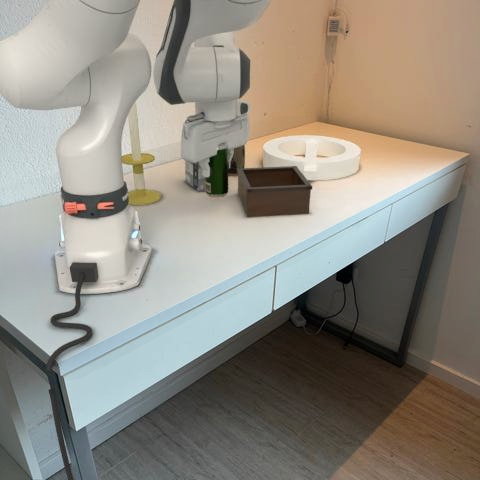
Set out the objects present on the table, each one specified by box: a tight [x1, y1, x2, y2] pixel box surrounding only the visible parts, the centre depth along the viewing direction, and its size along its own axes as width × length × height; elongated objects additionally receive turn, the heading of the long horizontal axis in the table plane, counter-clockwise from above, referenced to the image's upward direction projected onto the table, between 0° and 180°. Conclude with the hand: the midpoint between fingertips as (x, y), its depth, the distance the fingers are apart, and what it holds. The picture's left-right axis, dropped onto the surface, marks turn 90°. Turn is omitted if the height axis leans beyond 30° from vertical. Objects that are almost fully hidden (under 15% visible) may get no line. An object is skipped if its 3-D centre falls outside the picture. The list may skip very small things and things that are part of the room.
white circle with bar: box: [262, 134, 362, 181], centre depth 152 cm, size 28×28×5 cm
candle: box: [122, 101, 162, 206], centre depth 123 cm, size 10×10×27 cm
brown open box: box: [237, 166, 313, 218], centre depth 125 cm, size 15×15×7 cm
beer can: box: [205, 142, 229, 198], centre depth 120 cm, size 5×5×12 cm
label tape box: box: [184, 160, 206, 192], centre depth 135 cm, size 9×4×12 cm, turn 28°
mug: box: [228, 144, 246, 177], centre depth 144 cm, size 8×6×12 cm
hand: (216, 172), depth 120 cm, fingers closed on beer can, 5 cm apart
